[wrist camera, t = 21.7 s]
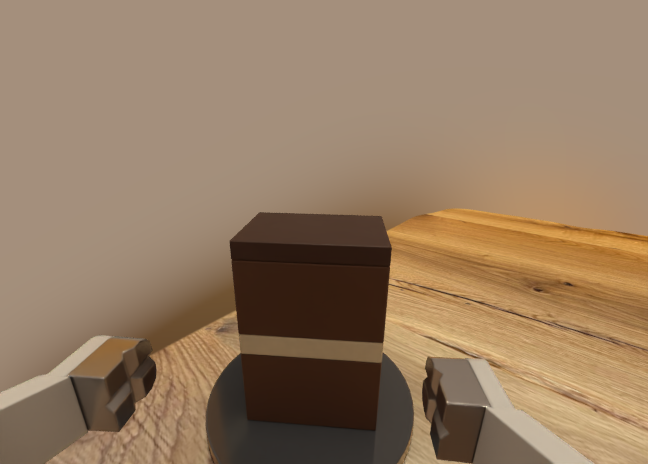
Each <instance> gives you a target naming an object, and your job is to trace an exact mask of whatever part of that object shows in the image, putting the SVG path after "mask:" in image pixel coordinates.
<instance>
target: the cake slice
mask: <svg viewBox="0 0 648 464" xmlns="http://www.w3.org/2000/svg"><path fill="white" fill-rule="evenodd" d="M230 249H231V259H232V271H233V280H234V290H235V301H236V311H237V321H238V331H239V340H240V350H241V362H242V372H243V382H244V392H245V402H246V412H247V419H248V420H258V421H269V422H281V423H293V424H305V425H317V426H328V427H340V428H352V429H364V430H376V423H377V412H378V400H379V388H380V377H381V365H382V363H381V362H382V353H383V342H384V331H385V319H386V307H387V296H388V284H389V273H390V267H389V266H390V261H391V250H392V248H391V244H390V241H389V238H388V235H387V232H386V229H385V226H384V223H383V220H382V217H381V216H358V215H357V216H356V215H325V214H294V213H261V212H260V213H258V214H257V215H256V217H254V218H253V219H252V220H251V221H250V222H249V223H248V224H247V225H246V226H245V227H244V228H243V229H242V230H241V231H240V232H238V233H237V235H236V236H234V237H233V238H232V239H231V240H230Z"/></svg>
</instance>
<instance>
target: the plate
mask: <svg viewBox="0 0 648 464" xmlns="http://www.w3.org/2000/svg"><path fill="white" fill-rule="evenodd" d="M381 363H382V365H381V377H380V388H379V400H378V412H377V423H376V430H364V429H352V428H340V427H328V426H317V425H305V424H293V423H281V422H269V421H258V420H248V419H247V412H246V402H245V392H244V382H243V372H242V362H241V353H240V354H239V355H238V356H237V357H236V358H234V359H233V360H232V361H231V362H230V363H229V364H228V366H227V367H226V368H225V369H224V370H223V372H222V373H221V375H220V376H219V378H218V379H217V381H216V383H215V385H214V387H213V389H212V391H211V394H210V398H209V401H208V405H207V411H206V431H207V438H208V444H209V450H210V453H211V456H212V459H213V462H214V464H403V462H404V460H405V457H406V455H407V452H408V450H409V446H410V442H411V437H412V431H413V422H414V409H413V401H412V397H411V393H410V390H409V387H408V385H407V383H406V380H405V378H404V377H403V375H402V373H401V372H400V370H399V369H398V368H397V366H396V365H395V364H394V362H393V361H392V360H391V359H390V358H389V357H388V356H387V355H386V354H384V353H382V362H381Z"/></svg>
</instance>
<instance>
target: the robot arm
mask: <svg viewBox="0 0 648 464" xmlns="http://www.w3.org/2000/svg"><path fill="white" fill-rule="evenodd" d="M151 352H152V346H151V343H150V341H149V340H146V339H139V338H128V337H117V336H115V337H113V336H102V335H99V336H95V337H92V338H91V339H90V340H89V341H88V342H86V343H85V344H84V345H83V346H81V348H79V349H78V350H76V351H75V352H74V353H73V354H72V355H70V356H69V357H68V358H67V359H65V360H64V361H63V362H62V363H61V364H59V365H58V366H57V367H56V368H55V369H53V370H52V371H51V372H50V373H48V374H47V375H40V376H37V377H35V378H33V379H30V380H28V381H26V382H23V383H21V384H19V385H16V386H14V387H12V388H10V389H7V390H5V391H3V392H0V464H45V463H46V462H48V461H49V460H50V459H52V458H53V457H55V456H56V455H57V454H59V453H60V452H61V451H63V450H64V449H66V448H67V447H68V446H70V445H71V444H73V443H74V442H75V441H77V440H78V439H80V438H81V437H82V436H84V435H85V434H87V433H88V431H107V432H119V431H120V430H121V429H122V427H123V426H124V425H125V423H126V422H127V421H128V420H129V418H130V417H131V416H132V414H133V413H134V412H135V410H136V409H135V403H136V402H138V401H140V400H141V399H143V398H144V397H146V396H147V394H148V393H149V391H150V390H151V389H152V387H153V384H154V381H155V379H156V364H155V362H154V361H153V360H152V359H151V358H150V357H149V355H150V354H151ZM425 369H426V372H427V376H428V377H427V378H426V379H425V380H424V381H423V389H422V399H423V407H424V412H425V416H426V419H427V420H428V421H429V422H430V423H431V431H430V435H431V439H432V443H433V447H434V450H435V454H436V458H437V459H438V460H447V461H455V462H464V463H473V464H594V463H593V462H592V461H590V460H589V459H588V458H586V457H585V456H584V455H582V454H581V453H579V452H578V451H577V450H575V449H574V448H573V447H571V446H570V445H569V444H567V443H566V442H565V441H563V440H562V439H561V438H559V437H558V436H556V435H555V434H554V433H552V432H551V431H550V430H548V429H547V428H546V427H544V426H543V425H542V424H540V423H539V422H538V421H536V420H535V419H534V418H532V417H531V416H529V415H528V414H527V413H525V412H524V411H523V410H516V409H515V407H514V406H513V404H512V402H511V401H510V399H509V397H508V395H507V394H506V392H505V390H504V389H503V387H502V385H501V384H500V382H499V380H498V379H497V377H496V375H495V374H494V372H493V370H492V369H491V367H490V365H489V363H488V362H487V361H486V360H485V359H471V358H465V359H462V358H444V357H428V358H427V360H426V366H425Z"/></svg>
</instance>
